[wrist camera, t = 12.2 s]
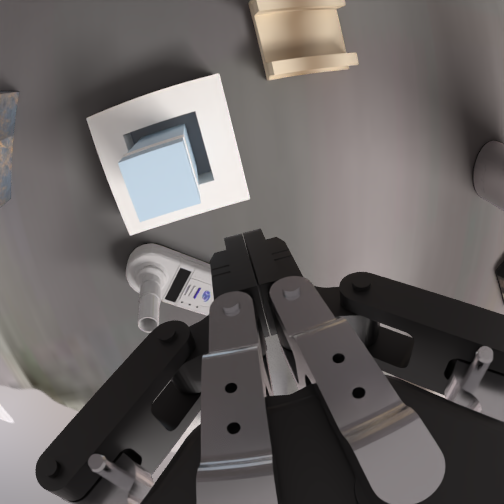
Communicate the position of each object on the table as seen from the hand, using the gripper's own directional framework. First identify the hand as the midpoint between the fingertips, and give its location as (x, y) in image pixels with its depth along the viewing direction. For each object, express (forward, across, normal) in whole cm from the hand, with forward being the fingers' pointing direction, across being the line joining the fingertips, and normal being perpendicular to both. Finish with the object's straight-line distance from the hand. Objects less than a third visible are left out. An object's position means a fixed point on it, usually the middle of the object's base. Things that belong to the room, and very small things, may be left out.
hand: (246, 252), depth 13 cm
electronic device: (+18, +6, +13) cm, 23 cm away
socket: (+18, +4, -2) cm, 19 cm away
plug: (+17, +4, -2) cm, 18 cm away
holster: (+18, -10, -10) cm, 23 cm away
